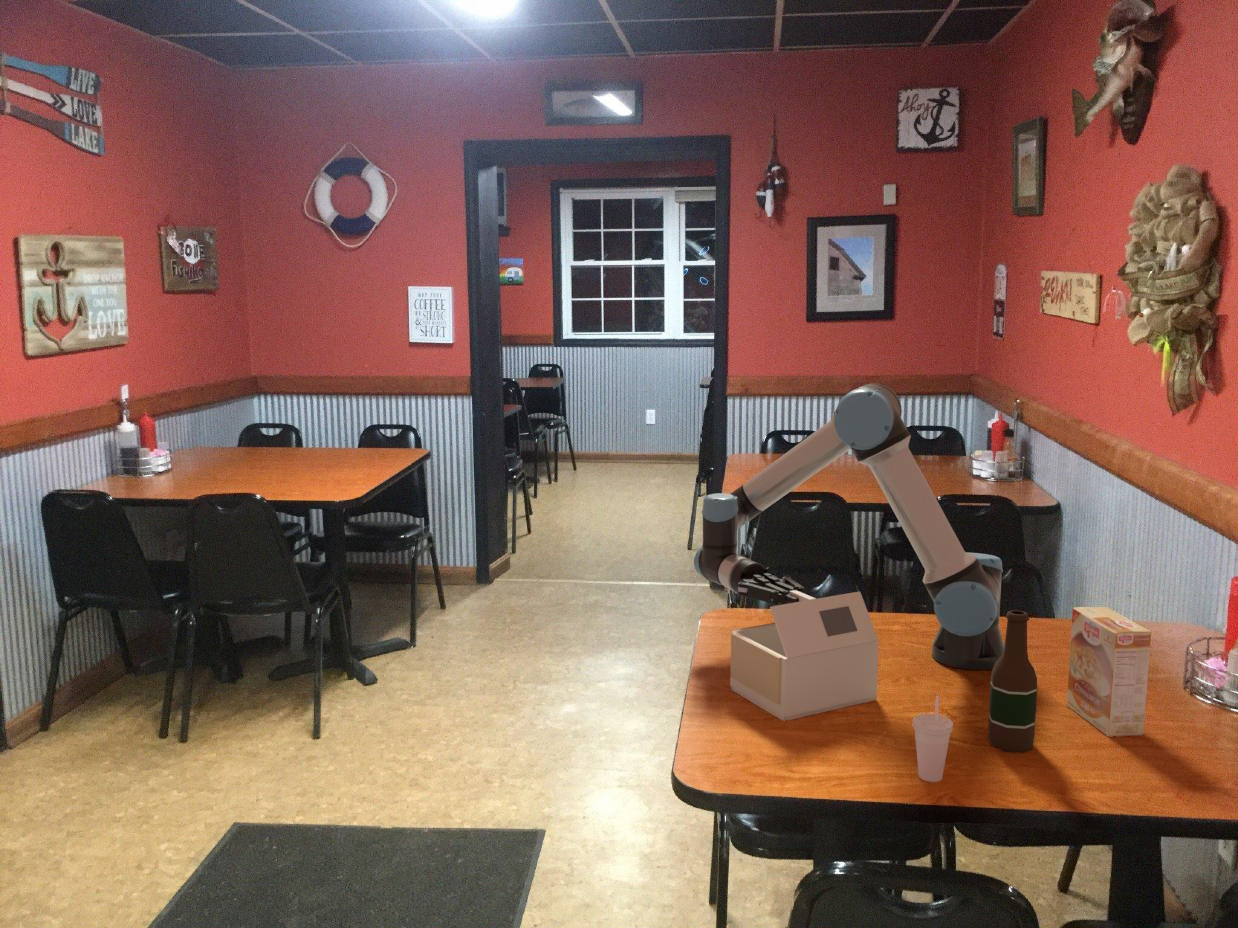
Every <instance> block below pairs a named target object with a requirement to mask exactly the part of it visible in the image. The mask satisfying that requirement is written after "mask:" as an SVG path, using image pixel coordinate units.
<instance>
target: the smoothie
mask: <svg viewBox="0 0 1238 928" xmlns="http://www.w3.org/2000/svg"><path fill="white" fill-rule="evenodd" d="M934 701H935V703H934V704H935V705H934V713H921V714H917V715H915V716H914V717H912V724H911V725H912V728H913V729H914V736H915V737H914V738H915V747H916V749H915V750H916V758H917V759H916V761H917V773H918V777H919V779H921V780H923V781H925V782H929V783H937V782H940V781H942V780H943V777H944V776H943V775H944V771H945V765H946V759H947V754H948V748H949V743H950V737H951V732H953V730H954V723H953V721H952V719H950V718H949V717H947V716H944V715H941V714H939V707H940V695H939V694H936V695H935V700H934Z"/></svg>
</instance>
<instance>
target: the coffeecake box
mask: <svg viewBox="0 0 1238 928" xmlns="http://www.w3.org/2000/svg"><path fill="white" fill-rule="evenodd" d="M1071 619H1072V620H1071V633H1070V634H1071V635H1070V647H1069V662H1068V663H1069V664H1068V676H1067V677H1068V679H1067V683H1068V684H1067V692H1066V693H1067V696H1066V704H1065V705H1066V706H1067V707H1068V708H1070V709H1071V710H1073V711H1074V713H1076V714H1077V715H1079V716H1080V717H1082V718H1083V719H1084V720H1086V721H1087V722H1088V723H1089V724H1091V725H1092V726H1093V727H1094V728H1096V729H1098V731H1100V732H1102V733H1103V734H1104V735H1105V734H1106V735H1105V736H1106V737H1108V738H1109V737H1111V738H1113V736H1116V737H1126V736H1129V737H1131V736H1134V737H1135V736H1143V735H1144V731H1145V729H1144V728H1145V727H1144V726H1145V720H1146V719H1145V718H1146V717H1145V716H1146V707H1147V706H1146V704H1147V703H1146V701H1147V694H1148V693H1147V690H1148V677H1149V666H1150V664H1149V663H1150V652H1151V642H1152V641H1151V639H1152V631H1151V630H1149V629H1147V628H1145V627H1143V626H1141V625H1140V624H1138V623H1137V622H1134V621H1133V620H1131V619H1130V618H1127V617H1125V616H1124V615H1122V614H1120V613H1118V612H1117V611H1115V610H1113V609H1111V608H1109V607H1107V606H1095V607H1093V606H1077V607H1076V606H1075V607H1072V617H1071Z"/></svg>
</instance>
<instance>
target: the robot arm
mask: <svg viewBox="0 0 1238 928" xmlns="http://www.w3.org/2000/svg"><path fill="white" fill-rule="evenodd" d="M911 437H912V436H911V434H910V432H909V430H908V428H907V426H906V424H905V422H904V420H903V419H902V404H901V400H900V398H899V396H898V395H897V394H896V393H895V391H894V390H893V389H891V388H889V387H888V385H887V386H886V385H884V384H880V383H867V384H863V385H861V386H859V387H858V388H857V387H856V389H853V390H850V391H849V392H848V393H847V394H845V395H843V397H842V398H841V399H840V400H839V402H838V403H837V406H836V407H835V410H834V411H833V413H832V415H831V420H828V421H827V422H826V423H825V424H824V425H822V426H821V427H819V428H818V429H817V430H815V431H814V432H813V433H811V434H810V435H809V436H807V437H806V438H804V439H803V440H801V441H800V442H799V443H797V444H796V445H794V447H792V448H791V449H789V450H788V451H787V452H785V453H784V454H783V455H781V456H780V457H779V458H777V459H776V460H774V461H773V462H771V463H770V464H769V465H767V466H766V467H765V468H764V469H763V470H761V471H759V472H758V473H757V474H755V475H754V476H752V477H751V478H750V479H749V480H747V481H746V482H745V483H743V484H742V485H741V486H739V487H737V488H736V489H735V490H733V491H732V492H730V493H724V492H723V493H720V492H719V493H711V494H708V495H705V496H704V497H703V501H702V503H703V504H702V511H701V513H702V545H701V547H699V548H698V550H697V551H696V554H695V556H694V558H693V565H694V566H693V567H694V569H695V571H696V573H697V574H699V575H700V576H701V577H703V578H705V580H706V581H708V582H712V583H715V584H717V585H720V586H721V587H724V588H726V589H728V590H730V591H733V592H734V594H737V595H738V596H742V597H745V598H750V599H755V600H759V601H762V602H766V603H769V604H772V605H779V603H781V605H783V604H789V603H795V602H801V601H807V600H813V599H817V598H816V597H813V596H811V595H808V594H806V593H805V587H804V586H803V585H801V584H800V583H799V582H797V581H796V580H794V579H793V578H791V575H789V574H785V575H784V576H783V577H782V578H778V576H776V575H772V574H771V573H769V572H768V570H767V568H766V567H765V566H764V565H763V564H761V563H759V562H756V561H754V560H752V559H750V558H747V557H744V556H741V555H740V554H738V530H740V528H741V527H743V526H745V524H748V523H749V522H750V521H752V520H753V519H754V518H755V517H757V516H758V515H760V514H761V513H763V512H764V511H765V510H766V509H768V508H769V507H771V506H772V505H773V504H775V503H776V502H777V501H779V500H780V499H782V498H783V497H784V496H785V497H786V495H787V494H789V493H790V492H792V491H793V490H795V489H796V488H797V487H799V486H800V485H802V484H803V483H804V482H806V481H807V480H809V479H811V478H812V477H813V476H815V475H816V474H817V473H819V472H820V471H821V470H823V469H824V468H826V467H827V466H829V465H830V464H831V463H833V462H835V461H836V460H837V459H838V458H840V457H841V456H843V455H844V454H846V453H848V451H850V450H851V451H852V453H853V455H854V457H855V458H856V461H857V462H858V464H862V465H865V466H867V467H869V469H870V471H871V472H872V474H873V476H874V477H875V481H876V482H877V483H878V485H879V487H880V489H881V491H882V493H883V494H884V496H885V498H886V500H887V502H888V504H889V506H890V507H891V509H892V512H893V513H894V515H895V516H896V518H897V520H898V523H899V524H900V526H901V527H902V530H903V531H904V533H905V535H906V537H907V539H908V541H909V542H910V545H911V547H912V548H913V550H914V552H915V553H916V555H917V558H918V559H919V561H920V563H921V565H922V567H923V568H924V574H923V575H924V576H923V578H922V582H923V583H922V584H924V586H925V588H926V591H927V592H928V594H929V596H930V598H931V600H932V601H933V609H934V610H933V611H934V614H935V617H936V619H937V622H938V623H939V624H940V625H939V627H938V630H937V632H936V635H935V637H934V640H933V642H932V646H931V656H932V658H933V659H934V660H936V661H937V662H938V663H941V664H943V665H945V666H948V667H949V666H950V667H953V668H957V669H962V670H971V671H972V670H973V671H985V670H992V669H993V667H994V665H995V663H996V662H997V660H998V659H999V658H1000V657H1001V656H1002V654H1003V650H1004V645H1005V642H1004V640H1003V636H1002V633H1001V629H1000V611H1001V609H1000V608H1001V594H1002V593H1001V592H1002V573H1003V572H1004V569H1003V561H1002V559H1001V558H1000V557H998V556H996V555H993V554H987V553H979V552H966V551H965V550H964V548H963V546H962V544H961V542H960V540H959V538H958V537H957V535H956V533H955V531H954V529H953V526H951V524H950V522H949V520H948V518H947V517H946V515H945V513H944V510H943V509H942V507H941V505H940V503H939V501H938V500H937V498H936V496H935V494H934V492H933V490H932V489H931V486H930V485H929V483H928V481H927V479H926V476H925V475H924V474H923V472H922V470H921V468H920V466H919V464H918V463H917V461H916V459H915V457H914V456H913V453H912V452H911V450H910V447H909V443H910V440H911Z"/></svg>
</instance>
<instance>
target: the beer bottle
mask: <svg viewBox="0 0 1238 928" xmlns="http://www.w3.org/2000/svg"><path fill="white" fill-rule="evenodd" d="M1005 618H1006V619H1007V623H1006V631H1005V640H1004V650H1003V654H1002V656H1001V657H1000V658H999V659H998V660H997V662H996V663H995V665H994V667H993V669H991V674H990V675H991V676H990V683H989V684H990V686H989V687H990V688H989V700H988V701H989V703H988V718H987V719H988V722H987V725H988V726H987V738H988V741H989V743H990V746H991V747H993V748H996V749H997V750H1001V751H1003V752H1007V753H1008V752H1009V753H1022V754H1023V753H1025V752H1027V751H1030V750H1032V749H1033V747H1034V743H1035V734H1036V733H1035V732H1036V731H1035V730H1036V716H1037V715H1036V714H1037V700H1038V676H1037V674H1036V670H1035V669H1034V666H1033V665H1032V663H1031V661H1030V660H1029V655H1028V654H1029V653H1028V621H1030V618H1029V614H1028V613H1027V612H1026V611H1023V610H1017V609H1013V610H1009V611H1007V612H1006V614H1005Z"/></svg>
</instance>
